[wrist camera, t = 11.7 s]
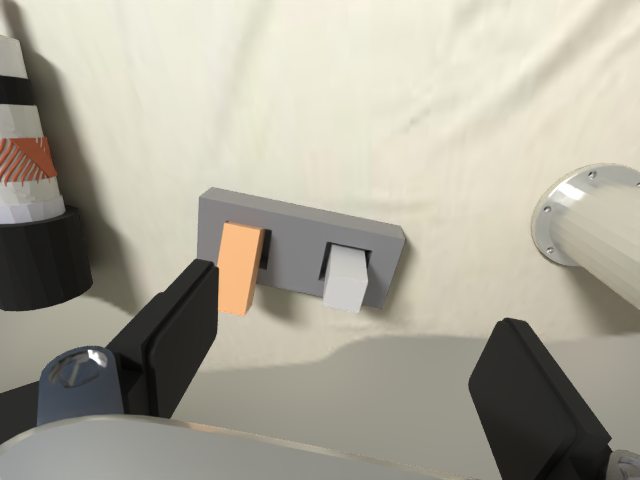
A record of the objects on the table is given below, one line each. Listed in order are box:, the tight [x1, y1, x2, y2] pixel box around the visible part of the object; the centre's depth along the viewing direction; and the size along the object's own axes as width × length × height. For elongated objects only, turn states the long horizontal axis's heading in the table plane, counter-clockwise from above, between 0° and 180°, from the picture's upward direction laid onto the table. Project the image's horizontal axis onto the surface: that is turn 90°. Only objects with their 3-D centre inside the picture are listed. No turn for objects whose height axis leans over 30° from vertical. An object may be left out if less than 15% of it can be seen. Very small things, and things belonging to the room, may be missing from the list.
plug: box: [217, 222, 266, 316], centre depth 39 cm, size 4×4×10 cm
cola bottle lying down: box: [0, 35, 93, 311], centre depth 37 cm, size 10×34×10 cm, turn 178°
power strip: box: [197, 187, 405, 313], centre depth 39 cm, size 24×10×10 cm, turn 79°
